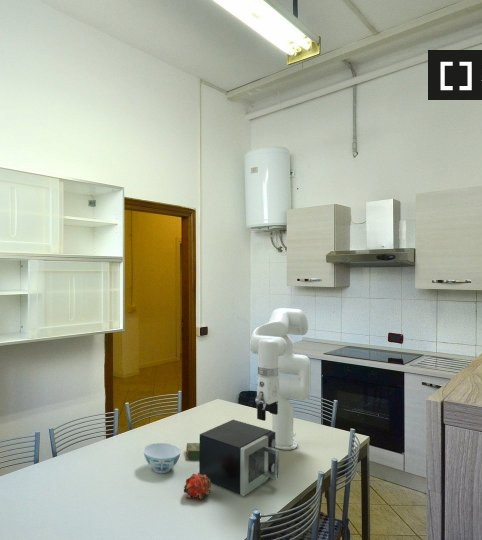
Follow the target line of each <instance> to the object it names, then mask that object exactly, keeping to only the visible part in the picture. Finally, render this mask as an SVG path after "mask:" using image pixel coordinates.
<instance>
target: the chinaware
mask: <svg viewBox="0 0 482 540" xmlns="http://www.w3.org/2000/svg"><path fill="white" fill-rule="evenodd" d="M181 452H182V451H181V449H180V448H179V447H178V446H177V445H175V444H171V443H166V442H155V443H150V444H148V445H146V446H144V448H143V456H144V459H145V462H147V464H148V465H149V466H150V467H151V468H152V469H153V471H154V472H156V473H158V474H166V473H169V472H170V471H171V469H172V468H174V467H175V466H176V465H177V463H178V461H179V459H180V456H181Z"/></svg>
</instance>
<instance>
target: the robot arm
mask: <svg viewBox="0 0 482 540" xmlns="http://www.w3.org/2000/svg"><path fill="white" fill-rule="evenodd" d="M307 318H308V317H307V315H306V313H305V311H303V310H302V309H300V308H290V307H289V308H287V307H286V308H285V307H279V308H275V309H273V311H272V313H271V314H270V316H269V320H268V322H266V323H264V324H262V325H259V326H258V327H256V328H254V330H252V333H251V336H250V338H249V345H248V347H249V350H250V351H251V353H253V354H254V355H255V354H256V355H257V376H258V377H257V385H256V386H257V387H256V397H255V399H254V401H255V406H256V420H260V421H264V422H265V421H266V420H267V418H266V417H267V410H266V406H267V405H269V410H268V411H269V412H268V413H269V414H271V431H273V432H275V441H276V444H275V449H278V450H283V451H291V450H294V449H296V448H297V445H298V443H297V442H296V441H295V440H294V437H296V435H297V433H296V432H295V431H294V418H295V417H294V416H295V415H294V414H295V413H294V412H295V411H294V405H293V404H292V402H291V401H290V400H299V401H308V400H309V398H310V396H311V378H312V377H311V374H312V373H311V369H312V367H311V360H310V358H309V357H308V356H307V355H305V354H298V353H295V342H294V340H293V339H292V338H291V336H290V335H293V336H304V335H306V334H307V333H308V331H309V321H308V319H307ZM279 374H283V375H292V376H298V377H299V378H297V377H291V376H282V375H281V376H279Z"/></svg>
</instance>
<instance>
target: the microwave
mask: <svg viewBox="0 0 482 540" xmlns="http://www.w3.org/2000/svg"><path fill="white" fill-rule="evenodd" d="M264 435H265V436H268V446H269V447H272V448H275V444H276V441H275V432H273V431H272V429H269V428H264V427H261V426H258V425H253V424H250V423H247V422H243V421H239V420H236V419H231V420H228V421H227V422H224V423H222V424H220V425H217V426H215V427H213V428H211V429H209V430H205V431H203V432H202V433H199V443H200V447H199V460H198V461H199V462H198V464H199V465H198V473H200V474H202V475H207V477H208V478H210V482H211V483H210V484H212V485H213V484H214V485H216V486H218V487H220V488H222V489H225V490H227V491H229V492H231V493H234V494H237V495H239V496H241V495H240V457H241V448H242V447H244V446H246V445H248V444H250V443H251V442H253V441H255V440H257V439H259V438H261V437H263V436H264ZM275 449H276V448H275ZM268 471H269V472H272V473H274V454H272V453H269V452H268ZM268 479H270V478H269V477H268Z"/></svg>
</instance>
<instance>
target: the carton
mask: <svg viewBox="0 0 482 540" xmlns="http://www.w3.org/2000/svg"><path fill="white" fill-rule="evenodd" d="M199 447H200V442H186V449H185V450H186V451H185V452H186V456H187V459H188V460H190V461H191V460H193V461H194V460H195V461H196V460H197V461H199Z"/></svg>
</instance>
